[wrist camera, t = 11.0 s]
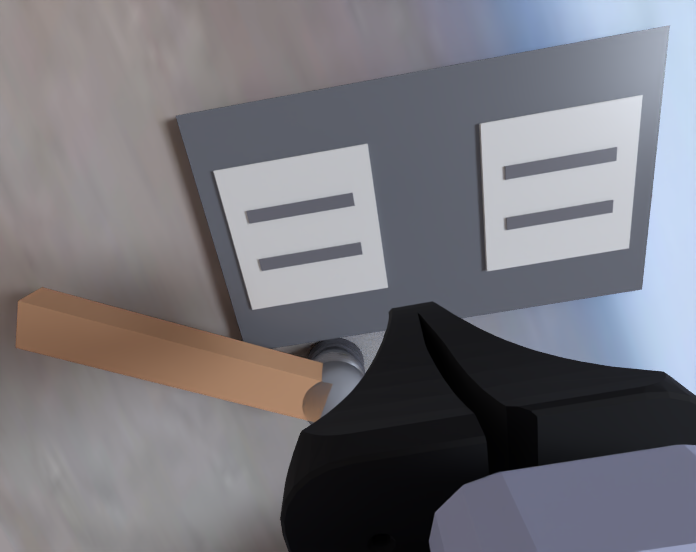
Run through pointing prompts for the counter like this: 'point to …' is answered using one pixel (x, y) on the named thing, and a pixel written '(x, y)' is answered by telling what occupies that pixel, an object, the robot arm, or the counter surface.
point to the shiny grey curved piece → (338, 353)
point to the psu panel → (434, 189)
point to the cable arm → (180, 356)
